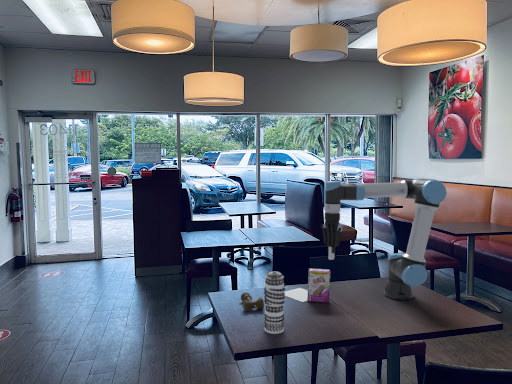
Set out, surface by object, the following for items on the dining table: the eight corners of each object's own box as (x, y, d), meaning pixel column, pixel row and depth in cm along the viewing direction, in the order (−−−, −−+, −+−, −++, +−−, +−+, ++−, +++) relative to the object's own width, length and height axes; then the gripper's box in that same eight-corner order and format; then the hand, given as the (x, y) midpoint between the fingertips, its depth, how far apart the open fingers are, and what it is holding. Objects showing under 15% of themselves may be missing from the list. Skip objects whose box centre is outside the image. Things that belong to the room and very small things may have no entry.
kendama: (254, 301, 215) (267, 313, 196) (236, 303, 212) (248, 316, 193) (253, 290, 215) (266, 301, 196) (236, 292, 212) (247, 304, 193)
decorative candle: (289, 329, 178) (289, 272, 176) (275, 336, 171) (276, 277, 169) (272, 323, 184) (273, 268, 182) (259, 330, 177) (259, 273, 175)
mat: (323, 296, 222) (323, 295, 222) (302, 302, 212) (302, 302, 212) (299, 288, 236) (299, 287, 236) (278, 293, 226) (278, 293, 226)
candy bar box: (307, 301, 212) (308, 270, 210) (307, 298, 217) (308, 268, 215) (329, 303, 211) (330, 272, 209) (328, 299, 216) (330, 269, 214)
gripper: (317, 211, 207) (316, 257, 208) (337, 214, 196) (336, 262, 198) (327, 210, 211) (326, 255, 213) (347, 213, 201) (346, 260, 203)
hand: (331, 259), depth 206 cm, fingers closed
